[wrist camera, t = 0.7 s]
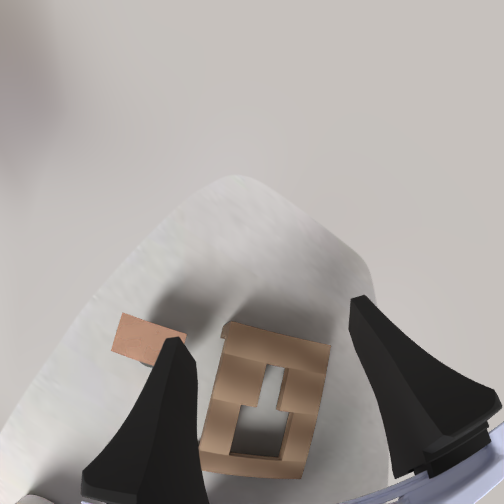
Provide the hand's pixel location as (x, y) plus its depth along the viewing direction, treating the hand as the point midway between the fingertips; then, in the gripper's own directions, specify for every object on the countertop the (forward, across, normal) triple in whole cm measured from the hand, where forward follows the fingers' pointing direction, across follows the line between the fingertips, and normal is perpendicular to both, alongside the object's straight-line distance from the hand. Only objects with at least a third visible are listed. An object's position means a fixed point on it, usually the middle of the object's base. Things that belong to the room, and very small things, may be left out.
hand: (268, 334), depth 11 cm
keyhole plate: (+5, +3, +17) cm, 18 cm away
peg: (+9, +12, +10) cm, 18 cm away
